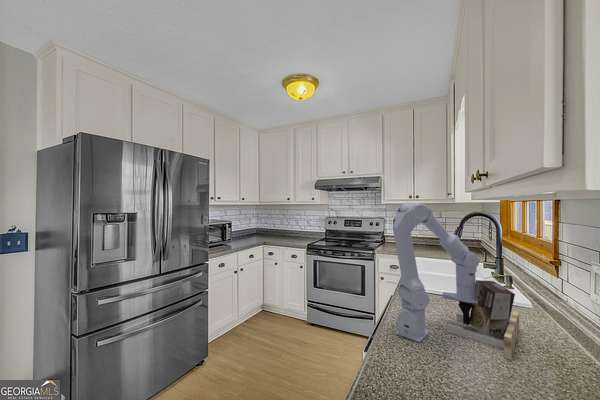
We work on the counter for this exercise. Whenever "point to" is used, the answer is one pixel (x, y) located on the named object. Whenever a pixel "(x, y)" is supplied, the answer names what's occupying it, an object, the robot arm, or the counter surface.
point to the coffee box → (491, 308)
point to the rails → (474, 334)
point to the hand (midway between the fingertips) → (466, 323)
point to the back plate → (511, 335)
